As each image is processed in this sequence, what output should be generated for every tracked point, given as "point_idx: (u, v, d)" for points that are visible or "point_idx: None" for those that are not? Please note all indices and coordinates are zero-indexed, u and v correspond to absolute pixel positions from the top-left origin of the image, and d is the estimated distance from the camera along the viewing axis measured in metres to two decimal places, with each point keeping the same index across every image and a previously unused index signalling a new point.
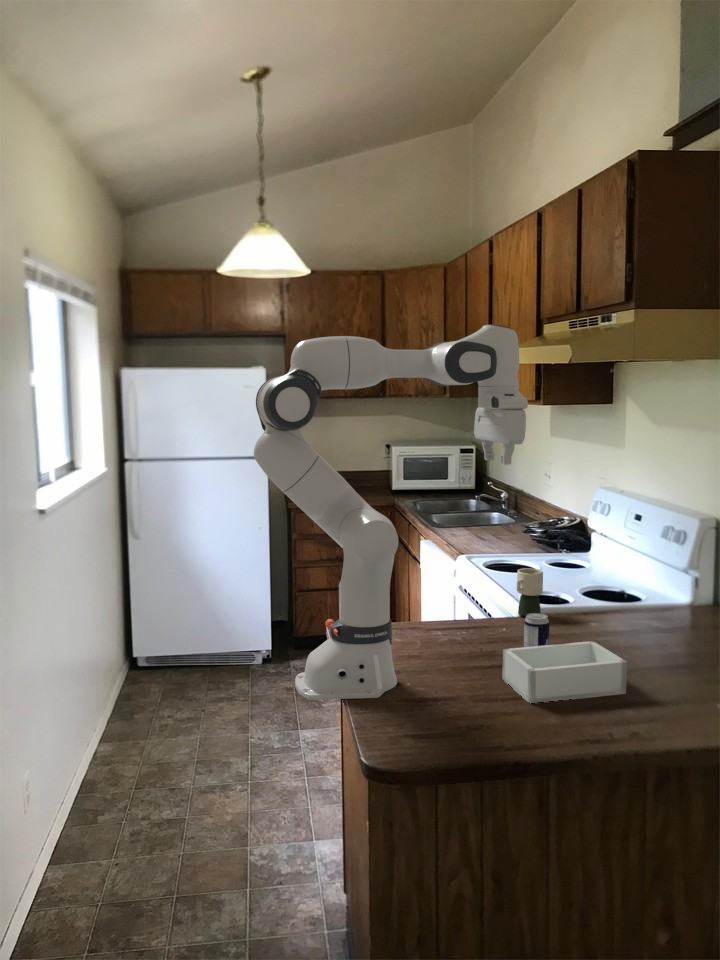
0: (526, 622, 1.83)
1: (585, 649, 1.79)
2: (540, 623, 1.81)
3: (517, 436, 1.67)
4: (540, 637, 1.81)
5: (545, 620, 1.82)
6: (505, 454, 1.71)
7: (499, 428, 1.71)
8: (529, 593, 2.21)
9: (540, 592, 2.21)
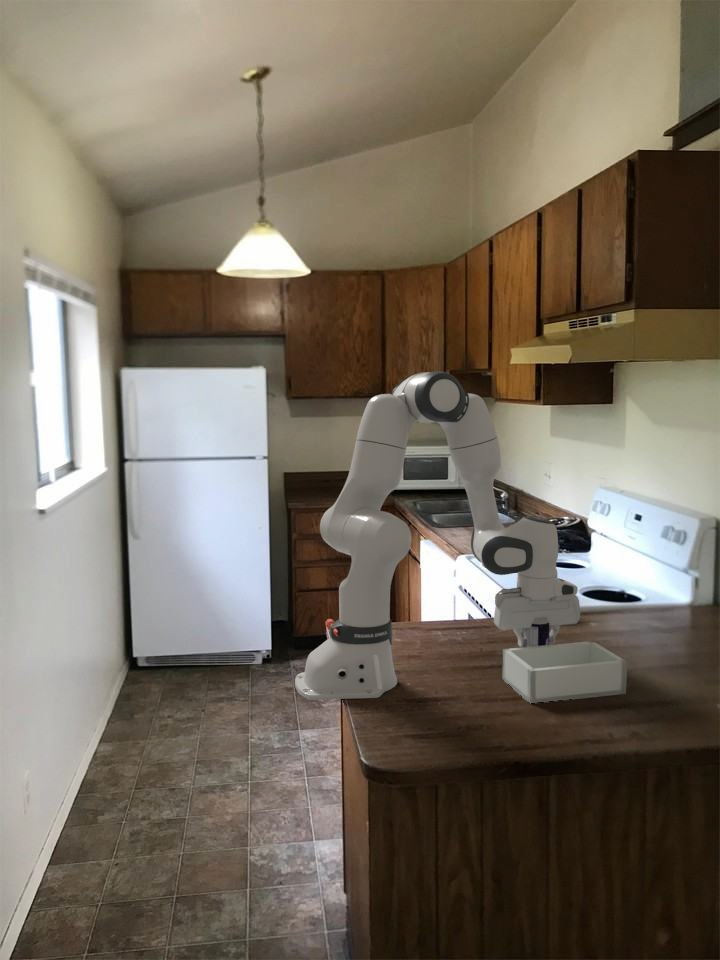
0: None
1: (585, 649, 1.79)
2: (540, 623, 1.81)
3: None
4: (540, 637, 1.81)
5: (545, 620, 1.82)
6: None
7: (559, 612, 1.83)
8: None
9: None
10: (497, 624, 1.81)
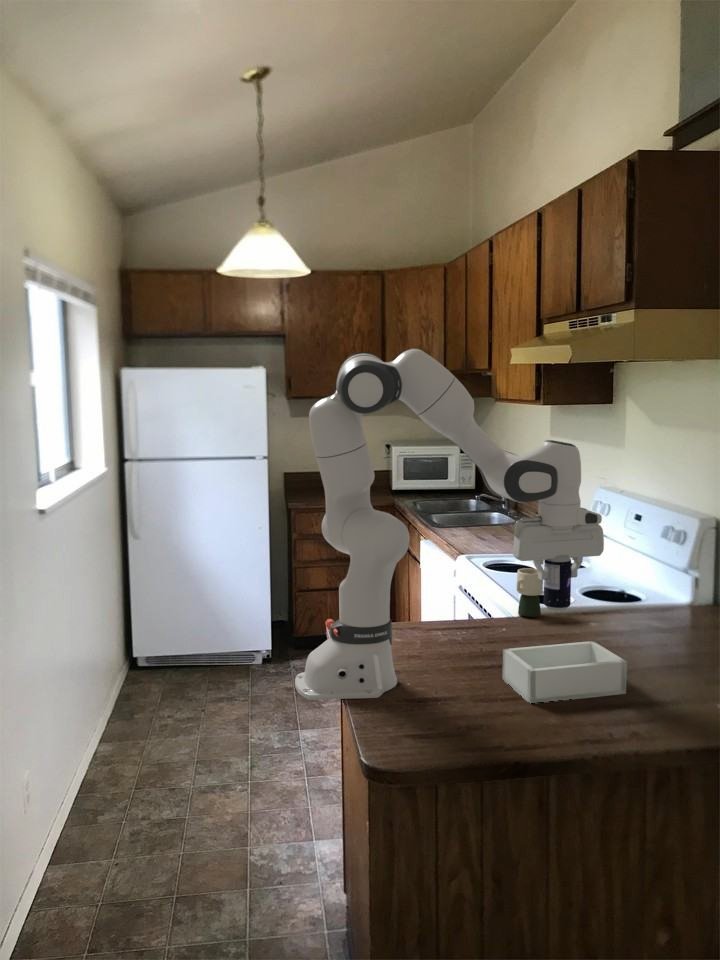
0: (546, 560, 1.72)
1: (585, 649, 1.79)
2: (561, 561, 1.70)
3: None
4: (561, 575, 1.70)
5: (567, 558, 1.71)
6: None
7: (582, 542, 1.72)
8: (529, 593, 2.21)
9: (540, 592, 2.21)
10: (516, 555, 1.70)
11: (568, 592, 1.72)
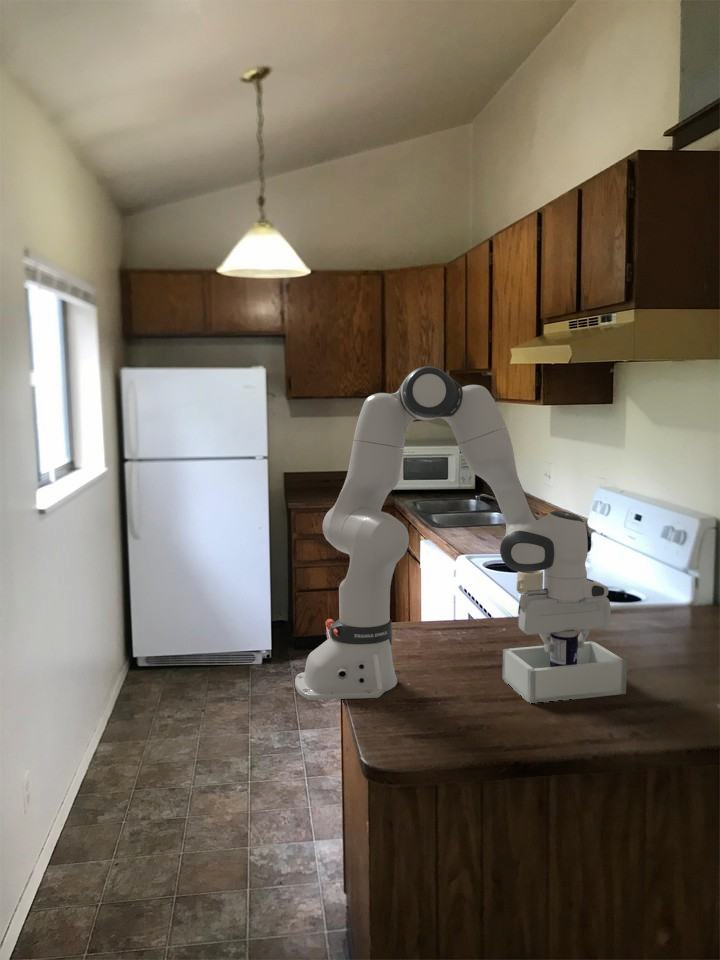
0: (553, 635, 1.70)
1: (585, 649, 1.79)
2: (568, 636, 1.69)
3: None
4: (568, 651, 1.69)
5: (573, 633, 1.69)
6: None
7: (589, 614, 1.70)
8: None
9: None
10: (522, 628, 1.68)
11: None
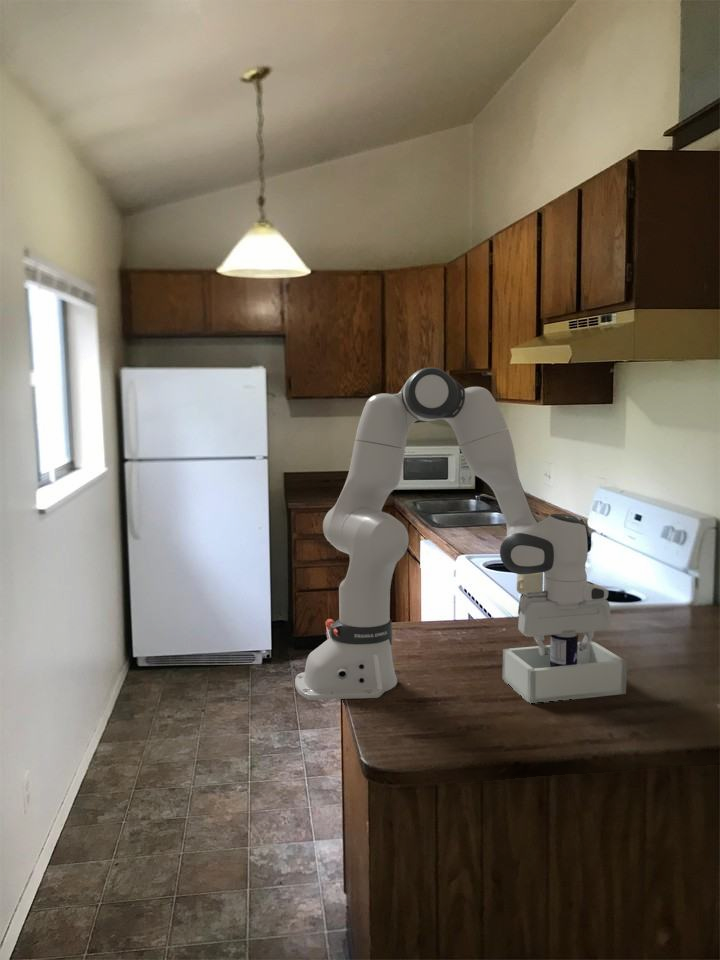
0: (553, 635, 1.70)
1: None
2: (568, 636, 1.69)
3: None
4: (568, 651, 1.69)
5: (573, 633, 1.69)
6: None
7: (588, 617, 1.70)
8: None
9: None
10: (522, 631, 1.68)
11: None
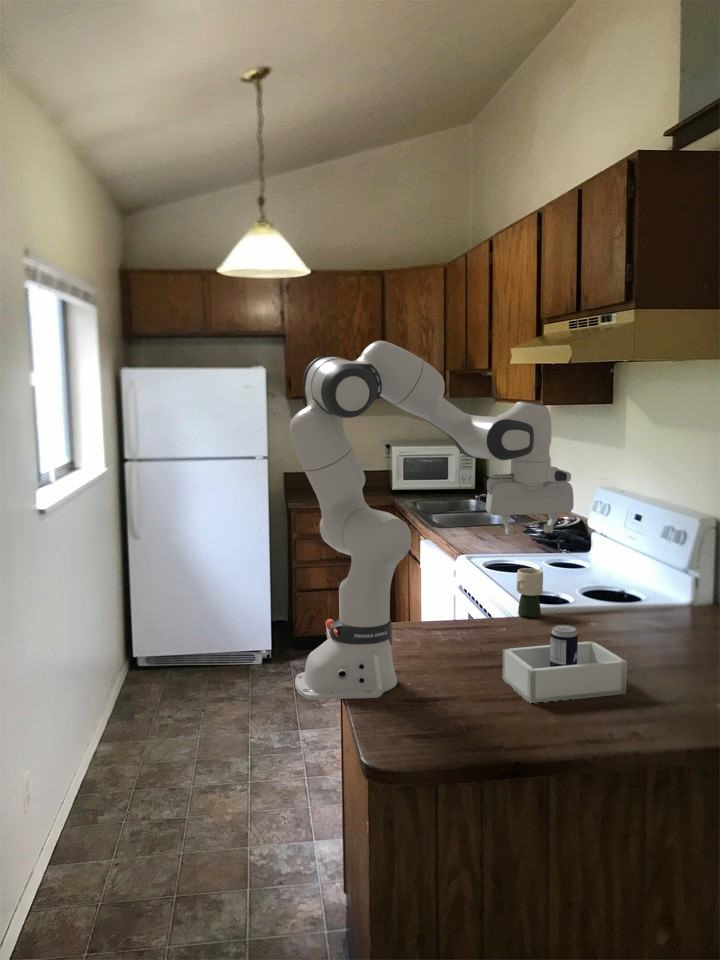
0: (553, 635, 1.70)
1: (585, 649, 1.79)
2: (568, 636, 1.69)
3: None
4: (568, 651, 1.69)
5: (573, 633, 1.69)
6: None
7: (552, 499, 1.80)
8: (529, 593, 2.21)
9: (540, 592, 2.21)
10: (489, 510, 1.79)
11: None
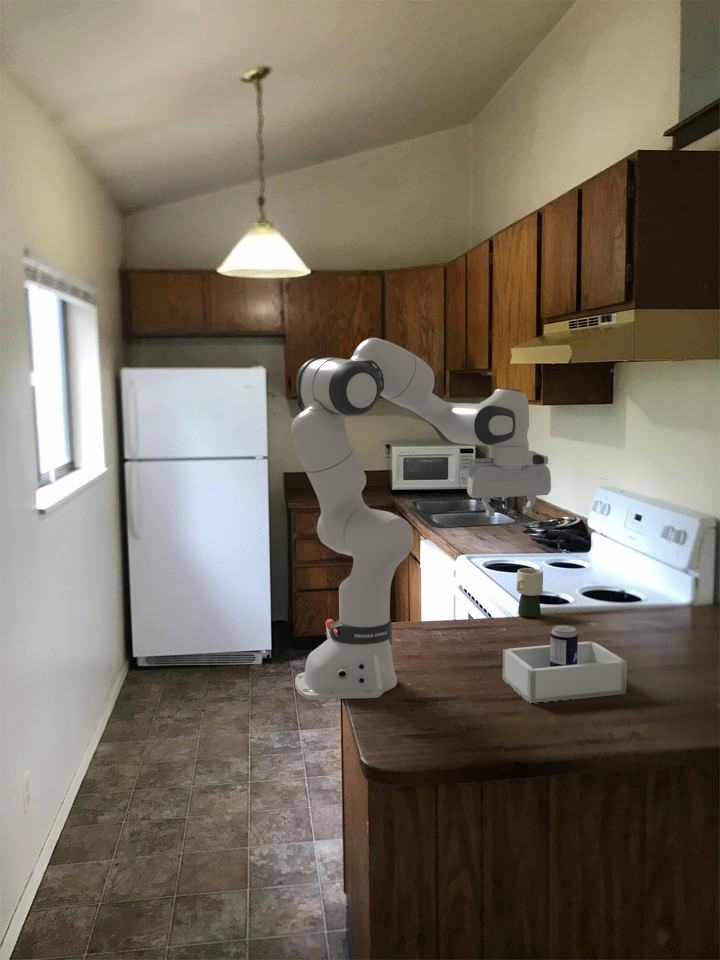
0: (553, 635, 1.70)
1: (585, 649, 1.79)
2: (568, 636, 1.69)
3: None
4: (568, 651, 1.69)
5: (573, 633, 1.69)
6: None
7: (531, 482, 1.88)
8: (529, 593, 2.21)
9: (540, 592, 2.21)
10: (470, 493, 1.86)
11: None
